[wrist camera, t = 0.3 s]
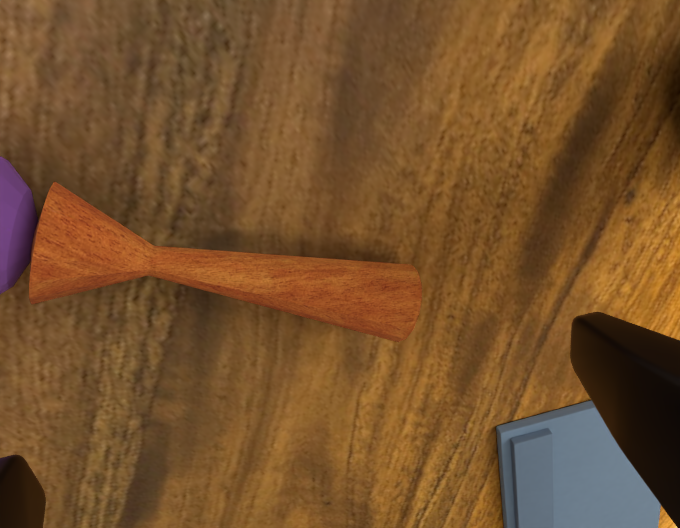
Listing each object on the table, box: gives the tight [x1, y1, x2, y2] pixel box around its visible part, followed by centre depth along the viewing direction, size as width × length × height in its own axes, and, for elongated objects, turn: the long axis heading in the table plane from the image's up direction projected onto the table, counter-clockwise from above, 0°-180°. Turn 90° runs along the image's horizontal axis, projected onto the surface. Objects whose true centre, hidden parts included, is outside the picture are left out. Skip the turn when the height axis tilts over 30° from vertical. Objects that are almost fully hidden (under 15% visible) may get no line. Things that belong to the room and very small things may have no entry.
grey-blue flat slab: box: [496, 400, 661, 528], centre depth 33 cm, size 12×10×1 cm
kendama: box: [0, 156, 422, 342], centre depth 21 cm, size 6×6×20 cm
